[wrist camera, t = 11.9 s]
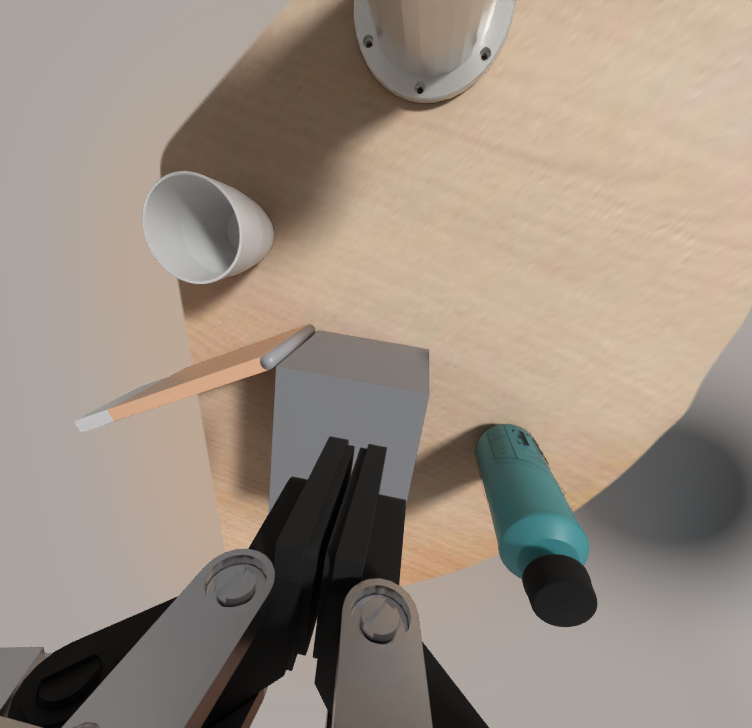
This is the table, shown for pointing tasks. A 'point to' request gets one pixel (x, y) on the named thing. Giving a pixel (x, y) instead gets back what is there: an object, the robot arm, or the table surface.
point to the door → (200, 378)
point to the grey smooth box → (349, 406)
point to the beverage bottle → (535, 526)
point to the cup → (204, 228)
